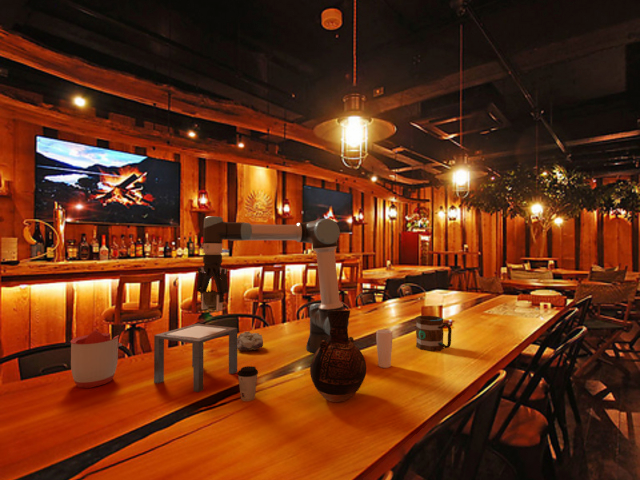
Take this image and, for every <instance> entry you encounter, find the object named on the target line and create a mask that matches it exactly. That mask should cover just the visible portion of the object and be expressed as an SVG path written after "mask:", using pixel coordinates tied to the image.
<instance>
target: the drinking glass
mask: <svg viewBox="0 0 640 480" xmlns="http://www.w3.org/2000/svg"><path fill="white" fill-rule="evenodd" d="M375 337H376V350H377V363H378V364H377V365H378V367H380V368H383V369H387V368H390V367H392V366H391V365H392V363H391V361H392V349H393V331H392V330H390V329H377V330H376V336H375Z"/></svg>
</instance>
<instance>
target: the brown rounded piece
mask: <svg viewBox="0 0 640 480" xmlns="http://www.w3.org/2000/svg"><path fill="white" fill-rule="evenodd" d="M207 290H208V289H207ZM217 294H218V291H216V290H213V289H211V290H208V291H204V292H203V298H204V303H205V305H206V306H207V307H208V308H207V309H206V310H207V311H210V312H215V311H217Z"/></svg>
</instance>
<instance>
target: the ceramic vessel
mask: <svg viewBox="0 0 640 480" xmlns="http://www.w3.org/2000/svg"><path fill="white" fill-rule="evenodd" d="M350 315H351V310H350V309H344V310H342V311H341V310H333V311H332V310H329V311H327V316H328V319H329V324H330V338H329V339H328V340H327V341H325V340H322V342H321V344H320V348H319V349H318V350H317V351H316V353H314V354H313V357H312V359H311V362H310V366H309V373H310V378H311V381H312V384H313V385H314V387H315V389H316V391H317V392H318V394H320V396H322V397H323V398H324V399H325V400H327V401H328V402H331V403H342V402H345V401H347V400H349V399H352V398H353V396H355V394H356V393H357V392H358V390H359V389H360V388H361V386H362V385H363V383H364V380H365V378H366V374H367V363H366V359H365V356H364V355H363V353H362V351H361V350H360V348H359V347H358V346H357V345H356V344H354V341H355V340H354V337H353V336H349V332H348V330H349V329H348V328H347V326H348V327H349V325H348V320H349V321H350Z"/></svg>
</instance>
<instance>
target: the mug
mask: <svg viewBox="0 0 640 480" xmlns="http://www.w3.org/2000/svg"><path fill="white" fill-rule="evenodd" d="M415 323H416V328H415V334H416V335H415V337H416V342H415V343H416V345H415V347H416V348H417V349H419V350H421V351H426V352H441V351H443V350H444V349H448V348H450V347H451V344H452V332H453V331H452V326H451V325H450V324H448V323H444V318H443V317H440V316H437V315H418V316H416V317H415ZM445 327H446V328H447V330H448V331H447V344H444V335H445V334H444V328H445Z"/></svg>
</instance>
